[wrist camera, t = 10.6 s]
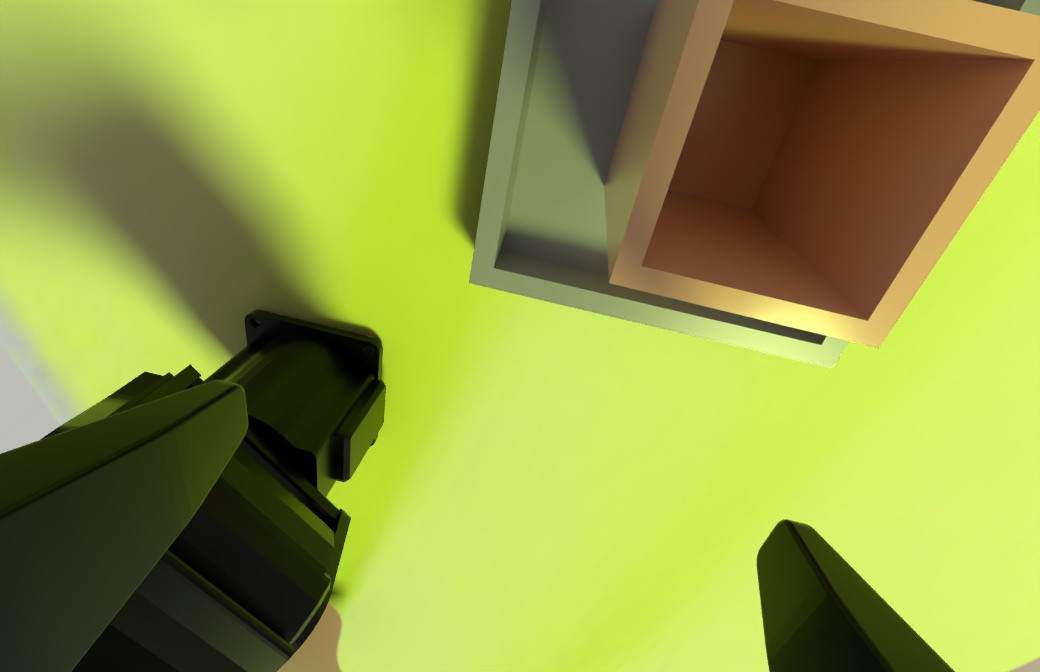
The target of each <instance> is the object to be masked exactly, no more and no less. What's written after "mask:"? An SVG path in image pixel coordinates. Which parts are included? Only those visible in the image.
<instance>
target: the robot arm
mask: <svg viewBox="0 0 1040 672" xmlns="http://www.w3.org/2000/svg"><path fill="white" fill-rule="evenodd" d="M255 319H256V320H258V321H259V322H260V324H259V323H257V322H256V320H255ZM245 328H246V338H247V347H245V348H244V349H243V350H242V351H240V352H239V353H238V354H237V355H235V356H234V357H233V358H232V359H230V360H229V361H228V362H227V363H225V364H224V365H223V366H222V367H220V368H219V369H218V370H217V371H216V372H214V373H213V374H212V375H211V376H209V377H208V378H207V379H206V380H204V381H203V380H202V379H201V378H200V376H201V374H199V373H198V372H197V371H196V370H195V369H194V368H193V367H192V366H191V365H189V366H188V367H186V368H185V369H184V370H182V371H181V372H179V373H178V374H177V375H175V376H173V375H172V374H171V373H170V372H169V373H167V374H166V375H165V376H161V375H157V374H153V373H149V372H144V373H142V374H141V375H139V376H138V377H137V378H135V379H134V380H132V381H131V382H129V383H128V384H126V385H125V386H123V387H122V388H120V389H119V390H117V391H116V392H114V393H113V394H111V395H110V396H108V397H107V398H105V399H104V400H102V401H100V402H99V403H97V404H96V405H94V406H92V407H91V408H89V409H87V410H86V411H84V412H83V413H81V414H79V415H78V416H76V417H74V418H73V419H71V420H69V421H68V422H66V423H65V424H63V425H61V426H60V427H58V428H57V429H55V430H54V431H52V432H51V433H50V434H48V435H46V436H45V437H44V438H42V439H41V440H39V441H36V442H33V443H30V444H28V445H25V446H22V447H19V448H16V449H13V450H10V451H7V452H4V453H2V454H0V672H276V671H278V670H279V668H281V667H282V666H283V664H285V663H286V662H287V661H288V660H289V659H290V658H291V656H292V655H293V654H294V653H295V652H296V651H297V650H298V649H299V648H300V646H301V645H302V644H303V643H304V641H305V640H306V639H307V638H308V636H309V635H310V634H311V632H312V631H313V629H314V628H315V626H316V625H317V623H318V621H319V620H320V618H321V616H322V614H323V612H324V610H325V608H326V606H327V604H328V601H329V598H330V595H331V592H332V588H333V584H334V581H335V577H336V573H337V569H338V565H339V562H340V558H341V554H342V550H343V546H344V542H345V539H346V535H347V531H348V527H349V523H350V520H351V517H350V516H349V515H348V514H346V513H345V512H344V511H343V510H342V509H338V508H337V507H335V506H334V505H333V504H332V503H331V502H330V501H329V500H328V499H327V498H326V496H327V495H328V493H329V491H330V490H331V488H332V487H333V485H334V483H335V482H336V480H337V481H341V482H346V481H347V480H349V479H350V478H351V477H352V475H353V474H354V472H355V470H356V469H357V467H358V465H359V464H360V462H361V460H362V459H363V457H364V455H365V454H366V452H367V450H368V449H369V447H370V446H372V445H373V444H374V443H375V441H376V440H377V437H378V432H379V430H380V428H381V427H382V425H383V423H384V408H385V393H386V386H385V384H384V382H383V381H381V371H382V354H383V348H382V344H381V343H380V342H379V341H378V340H377V339H375V338H372V337H368V336H364V335H359V334H355V333H351V332H347V331H343V330H339V329H335V328H330V327H326V326H322V325H318V324H314V323H310V322H306V321H301V320H297V319H293V318H289V317H285V316H281V315H276V314H272V313H268V312H264V311H260V310H255V311H252V312H251V313H249V314H248V315H247V316H246V317H245ZM367 346H370V347H372V348H373V349H374V351H371V350H369V349H368V347H367ZM757 573H758V582H759V591H760V600H761V609H762V618H763V627H764V636H765V645H766V652H767V659H768V665H769V671H770V672H955V671H954V670H953V669H952V668H951V667H950V666H949V665H948V664H947V663H946V662H945V661H944V660H943V659H942V658H941V657H940V656H939V655H938V654H937V653H936V652H935V651H934V650H933V649H932V648H931V647H930V646H929V645H928V644H927V643H926V642H925V641H924V640H923V639H922V638H921V637H920V636H919V635H918V634H917V633H916V632H915V631H914V630H913V629H912V628H911V627H910V626H909V625H908V624H907V623H906V622H905V621H904V620H903V619H902V618H901V617H900V616H899V615H898V614H897V613H896V612H895V611H894V610H893V609H892V608H891V607H890V606H889V605H888V603H887V602H886V601H885V600H884V599H883V598H882V597H881V596H880V595H879V594H878V593H877V592H876V591H875V590H874V589H873V588H872V587H871V586H870V585H869V584H868V583H867V582H866V581H865V580H864V579H863V578H862V577H861V576H860V575H859V574H858V573H857V572H856V571H855V570H854V569H853V568H852V567H851V566H850V565H849V564H848V563H847V562H846V561H845V560H844V559H843V558H842V557H841V556H840V555H839V554H838V553H837V552H836V551H835V550H834V549H833V548H832V547H831V546H830V545H829V544H828V543H827V542H826V541H825V540H824V539H823V538H822V537H821V536H820V535H819V534H818V533H817V532H816V531H815V530H814V529H813V528H812V527H811V526H809V525H807V524H804V523H799V522H795V521H791V520H787V519H786V520H781V521H780V522H778V523H777V525H776V526H775V528H774V529H773V531H772V532H771V533H770V535H769V536H768V538H767V539H766V541H765V542H764V544H763V545H762V546H761V548H760V550H759V552H758V555H757Z"/></svg>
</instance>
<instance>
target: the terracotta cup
mask: <svg viewBox="0 0 1040 672" xmlns="http://www.w3.org/2000/svg"><path fill="white" fill-rule="evenodd" d="M1039 111H1040V16H1039V15H1034V14H1030V13H1026V12H1021V11H1017V10H1012V9H1008V8H1003V7H999V6H994V5H990V4H986V3H981V2H977V1H972V0H661V1H660V2H659V3H658V4H657V5H656V6H655V9H654V13H653V16H652V20H651V23H650V27H649V30H648V34H647V37H646V41H645V45H644V48H643V52H642V55H641V59H640V62H639V66H638V69H637V73H636V76H635V80H634V83H633V87H632V90H631V94H630V98H629V101H628V105H627V108H626V112H625V115H624V119H623V122H622V126H621V129H620V133H619V136H618V140H617V143H616V147H615V151H614V154H613V158H612V161H611V165H610V168H609V172H608V175H607V179H606V182H605V186H604V190H605V210H606V231H607V251H608V272H609V283H611V284H615V285H619V286H623V287H627V288H631V289H636V290H640V291H644V292H648V293H652V294H656V295H660V296H664V297H669V298H673V299H677V300H681V301H685V302H689V303H693V304H697V305H702V306H706V307H710V308H714V309H718V310H722V311H726V312H730V313H735V314H739V315H743V316H747V317H751V318H755V319H759V320H763V321H768V322H772V323H776V324H780V325H784V326H788V327H792V328H796V329H801V330H805V331H809V332H813V333H817V334H821V335H825V336H829V337H834V338H838V339H842V340H846V341H850V342H854V343H858V344H862V345H867V346H871V347H875V348H879V347H880V346H881V344H882V343H883V341H884V340H885V338H886V337H887V336H888V334H889V333H890V331H891V330H892V328H893V327H894V325H895V324H896V322H897V321H898V319H899V318H900V316H901V315H902V313H903V312H904V310H905V309H906V307H907V306H908V304H909V303H910V301H911V300H912V299H913V297H914V296H915V294H916V293H917V291H918V290H919V288H920V287H921V285H922V284H923V282H924V281H925V279H926V278H927V276H928V275H929V273H930V272H931V270H932V269H933V267H934V266H935V264H936V263H937V262H938V260H939V259H940V257H941V256H942V254H943V253H944V251H945V250H946V248H947V247H948V245H949V244H950V242H951V241H952V239H953V238H954V236H955V235H956V233H957V232H958V230H959V229H960V227H961V226H962V225H963V223H964V222H965V220H966V219H967V217H968V216H969V214H970V213H971V211H972V210H973V208H974V207H975V205H976V204H977V202H978V201H979V199H980V198H981V196H982V195H983V193H984V192H985V190H986V189H987V188H988V186H989V185H990V183H991V182H992V180H993V179H994V177H995V176H996V174H997V173H998V171H999V170H1000V168H1001V167H1002V165H1003V164H1004V162H1005V161H1006V159H1007V158H1008V156H1009V155H1010V153H1011V152H1012V151H1013V149H1014V148H1015V146H1016V145H1017V143H1018V142H1019V140H1020V139H1021V137H1022V136H1023V134H1024V133H1025V131H1026V130H1027V128H1028V127H1029V125H1030V124H1031V122H1032V121H1033V119H1034V118H1035V116H1036V115H1037V114H1038V112H1039Z"/></svg>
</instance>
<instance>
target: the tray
mask: <svg viewBox="0 0 1040 672" xmlns="http://www.w3.org/2000/svg"><path fill="white" fill-rule="evenodd" d="M660 1H661V0H512V3H511V9H510V16H509V23H508V29H507V36H506V42H505V49H504V56H503V62H502V69H501V75H500V82H499V89H498V95H497V102H496V109H495V115H494V122H493V128H492V135H491V142H490V148H489V155H488V161H487V168H486V175H485V181H484V188H483V194H482V201H481V208H480V214H479V221H478V227H477V234H476V241H475V247H474V254H473V260H472V267H471V274H470V280H469V283H472V284H476V285H480V286H484V287H489V288H493V289H497V290H501V291H506V292H510V293H514V294H518V295H522V296H527V297H531V298H535V299H539V300H544V301H548V302H552V303H556V304H561V305H565V306H569V307H573V308H577V309H582V310H586V311H590V312H594V313H599V314H603V315H607V316H611V317H615V318H620V319H624V320H628V321H632V322H637V323H641V324H645V325H649V326H654V327H658V328H662V329H666V330H670V331H675V332H679V333H683V334H687V335H692V336H696V337H700V338H704V339H709V340H713V341H717V342H721V343H725V344H730V345H734V346H738V347H742V348H747V349H751V350H755V351H759V352H764V353H768V354H772V355H776V356H780V357H785V358H789V359H793V360H797V361H802V362H806V363H810V364H814V365H819V366H823V367H827V368H831V369H832V368H833V367H834V365H835V364H836V362H837V360H838V359H839V357H840V356H841V354H842V352H843V351H844V349H845V348H846V346H847V344H848V343H849V341H846V340H842V339H838V338H834V337H829V336H825V335H821V334H817V333H813V332H809V331H805V330H801V329H796V328H792V327H788V326H784V325H780V324H776V323H772V322H768V321H763V320H759V319H755V318H751V317H747V316H743V315H739V314H735V313H730V312H726V311H722V310H718V309H714V308H710V307H706V306H702V305H697V304H693V303H689V302H685V301H681V300H677V299H673V298H669V297H664V296H660V295H656V294H652V293H648V292H644V291H640V290H636V289H631V288H627V287H623V286H619V285H615V284H611V283H609V272H608V251H607V231H606V210H605V190H604V186H605V182H606V179H607V175H608V172H609V168H610V165H611V161H612V158H613V154H614V151H615V147H616V143H617V140H618V136H619V133H620V129H621V126H622V122H623V119H624V115H625V112H626V108H627V105H628V101H629V98H630V94H631V90H632V87H633V83H634V80H635V76H636V73H637V69H638V66H639V62H640V59H641V55H642V52H643V48H644V45H645V41H646V37H647V34H648V30H649V27H650V23H651V20H652V16H653V13H654V9H655V6H656V5H657V4H658V3H659V2H660ZM972 1H977V2H981V3H986V4H990V5H994V6H999V7H1003V8H1008V9H1012V10H1017V11H1021V12H1026V13H1030V14H1034V15H1039V16H1040V0H972Z"/></svg>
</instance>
